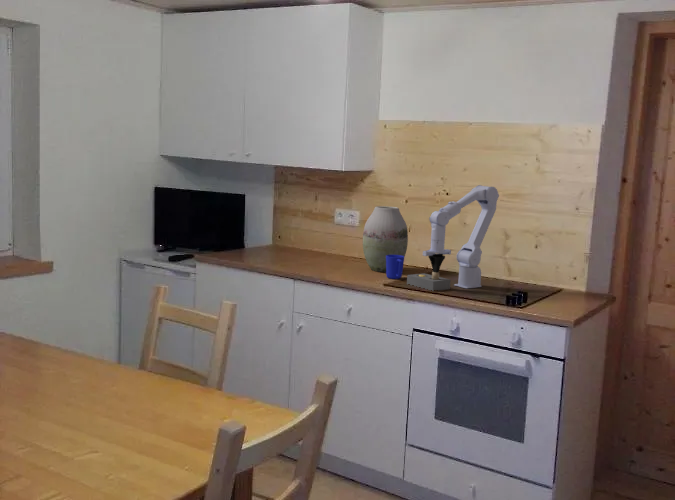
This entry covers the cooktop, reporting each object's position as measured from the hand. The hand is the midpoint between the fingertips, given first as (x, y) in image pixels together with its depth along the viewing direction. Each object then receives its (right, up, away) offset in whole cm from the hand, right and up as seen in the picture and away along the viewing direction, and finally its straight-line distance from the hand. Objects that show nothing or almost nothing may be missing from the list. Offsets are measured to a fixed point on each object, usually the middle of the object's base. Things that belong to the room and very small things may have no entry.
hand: (435, 272), depth 305 cm
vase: (-19, -1, +41) cm, 45 cm away
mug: (-15, -4, +19) cm, 25 cm away
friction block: (-3, -6, +4) cm, 8 cm away
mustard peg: (-5, -6, +7) cm, 10 cm away
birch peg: (0, -4, +1) cm, 4 cm away
